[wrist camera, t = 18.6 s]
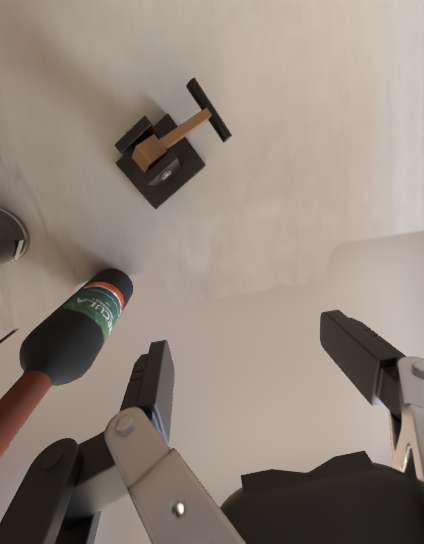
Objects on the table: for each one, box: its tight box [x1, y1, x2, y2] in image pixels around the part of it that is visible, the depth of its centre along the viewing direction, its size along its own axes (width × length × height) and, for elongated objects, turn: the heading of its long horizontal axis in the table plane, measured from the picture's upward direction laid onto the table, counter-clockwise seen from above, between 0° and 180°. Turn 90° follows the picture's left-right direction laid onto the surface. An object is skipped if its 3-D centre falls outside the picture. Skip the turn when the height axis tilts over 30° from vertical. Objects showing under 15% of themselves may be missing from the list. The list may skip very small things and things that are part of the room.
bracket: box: [115, 114, 206, 209], centre depth 30 cm, size 11×9×14 cm
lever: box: [132, 78, 232, 173], centre depth 28 cm, size 13×8×2 cm
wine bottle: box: [0, 269, 133, 458], centre depth 29 cm, size 8×8×30 cm
